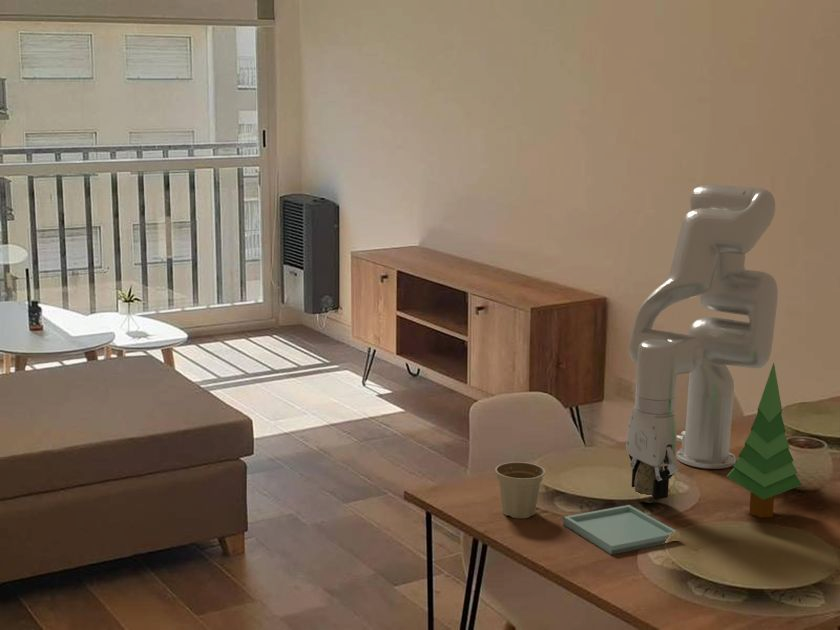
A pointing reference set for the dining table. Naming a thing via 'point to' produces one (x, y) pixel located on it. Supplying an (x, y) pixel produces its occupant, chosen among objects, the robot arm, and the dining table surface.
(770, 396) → the decorative tree
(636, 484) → the decorative egg
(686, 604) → the dining table surface
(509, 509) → the flower pot
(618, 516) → the teal dish
